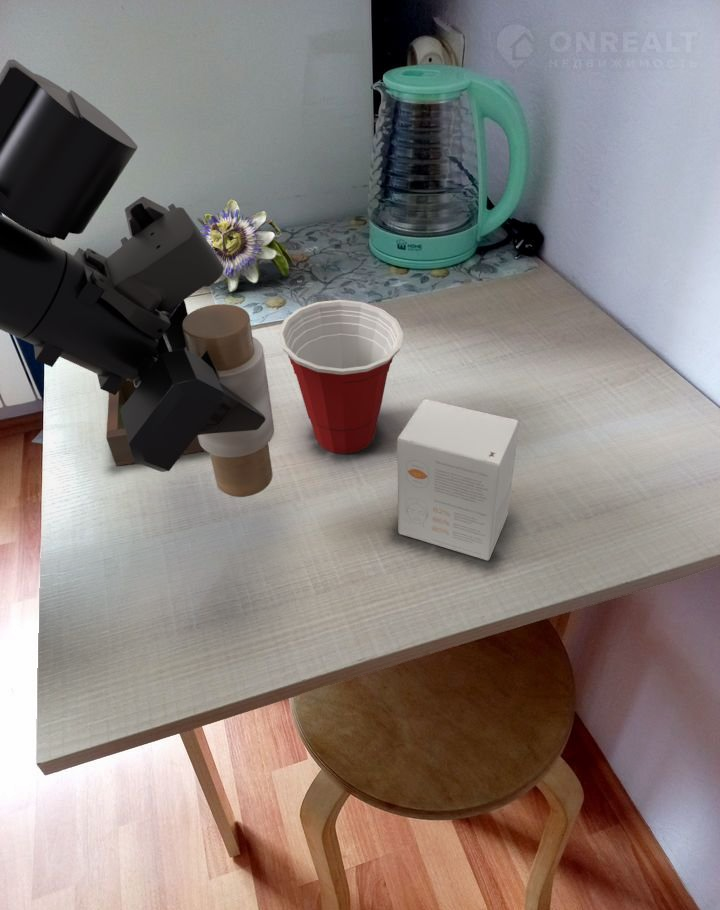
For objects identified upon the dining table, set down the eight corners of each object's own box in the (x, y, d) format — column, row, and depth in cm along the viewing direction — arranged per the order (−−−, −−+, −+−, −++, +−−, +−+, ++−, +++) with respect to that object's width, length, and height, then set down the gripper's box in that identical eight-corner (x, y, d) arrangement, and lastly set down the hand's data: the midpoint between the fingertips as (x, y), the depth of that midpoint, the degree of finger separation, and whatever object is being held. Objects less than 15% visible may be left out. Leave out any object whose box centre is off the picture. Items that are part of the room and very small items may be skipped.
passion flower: (240, 325, 96) (173, 269, 88) (243, 275, 103) (180, 218, 95) (304, 283, 91) (239, 219, 83) (302, 233, 98) (242, 170, 90)
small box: (508, 517, 60) (523, 419, 53) (488, 564, 56) (502, 465, 49) (420, 491, 63) (423, 395, 56) (395, 534, 59) (395, 437, 52)
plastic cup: (348, 490, 63) (342, 380, 55) (268, 440, 69) (252, 333, 61) (425, 432, 69) (429, 324, 61) (345, 390, 75) (339, 286, 67)
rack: (222, 448, 68) (216, 419, 66) (116, 466, 67) (106, 437, 64) (208, 346, 82) (202, 319, 80) (120, 359, 81) (112, 332, 78)
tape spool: (218, 511, 53) (182, 351, 43) (201, 465, 57) (165, 310, 47) (289, 490, 54) (269, 331, 45) (268, 447, 58) (245, 293, 49)
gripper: (145, 243, 32) (372, 384, 42) (96, 131, 45) (278, 259, 55) (21, 424, 35) (261, 515, 45) (9, 270, 48) (197, 367, 58)
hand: (249, 400), depth 51 cm, fingers closed on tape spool, 5 cm apart
